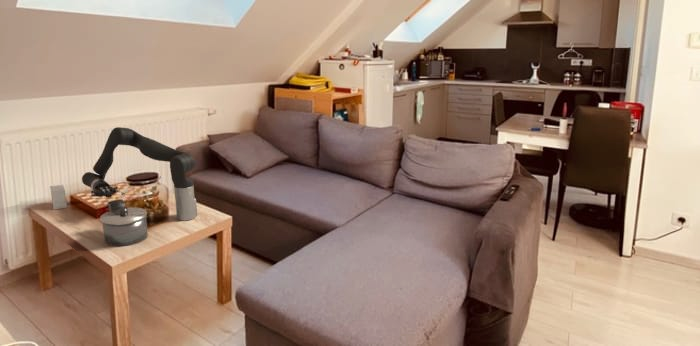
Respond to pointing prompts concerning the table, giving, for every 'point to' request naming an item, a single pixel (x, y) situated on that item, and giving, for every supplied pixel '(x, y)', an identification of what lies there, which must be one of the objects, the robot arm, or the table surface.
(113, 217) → the lid
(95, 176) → the robot arm
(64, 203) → the skincare box
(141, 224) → the pot
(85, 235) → the table surface
